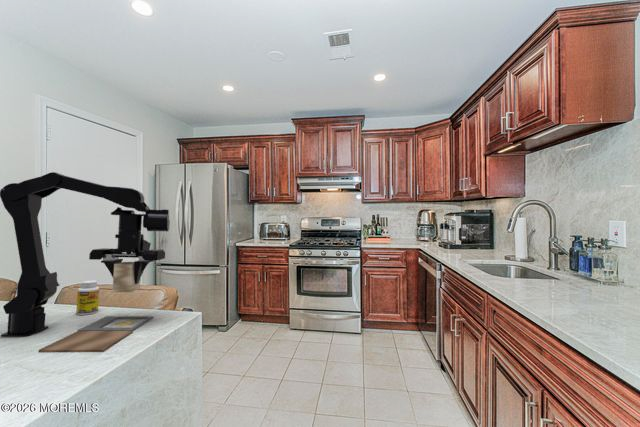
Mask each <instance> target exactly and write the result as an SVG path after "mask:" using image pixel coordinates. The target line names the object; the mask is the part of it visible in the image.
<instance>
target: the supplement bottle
mask: <svg viewBox="0 0 640 427" xmlns="http://www.w3.org/2000/svg"><path fill="white" fill-rule="evenodd" d="M80 286H81V287H79V288H78V289H77V294H76V295H77V298H76V315H78V316H89V315H93V314H96V313H97V312H98V311H99V299H100V287H99V286H98V281H97V280H84V281H82V282H81V285H80Z"/></svg>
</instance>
